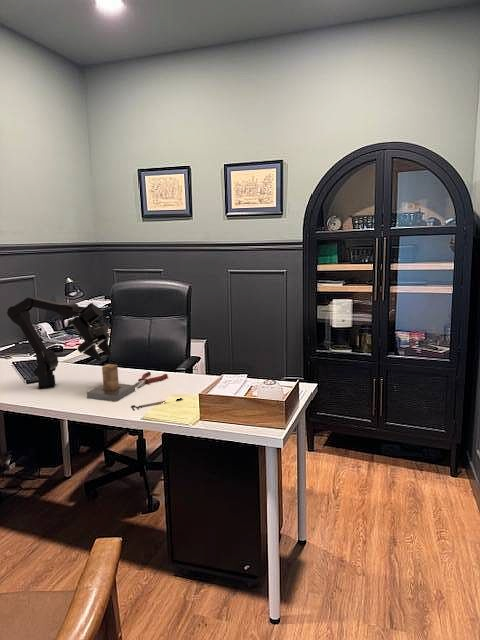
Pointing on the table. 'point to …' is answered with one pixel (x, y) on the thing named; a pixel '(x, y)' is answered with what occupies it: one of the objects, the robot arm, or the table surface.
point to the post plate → (111, 393)
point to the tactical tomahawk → (146, 405)
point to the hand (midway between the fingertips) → (105, 357)
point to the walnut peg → (110, 377)
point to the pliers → (150, 380)
